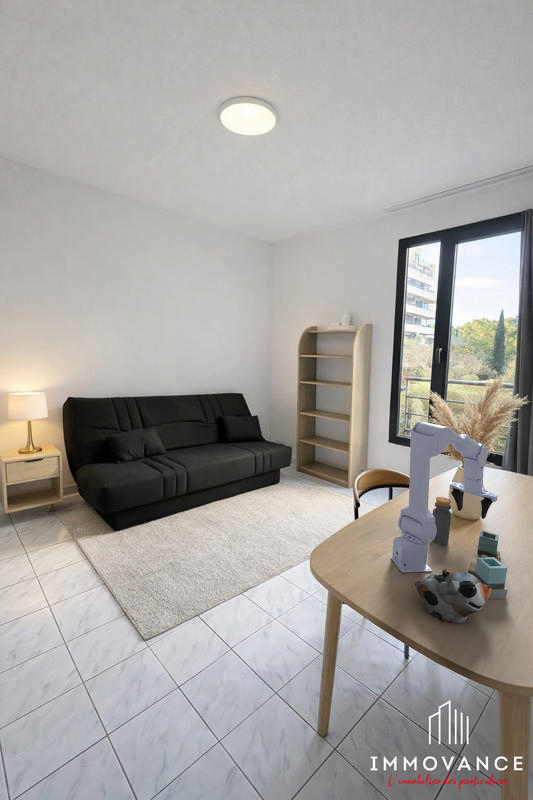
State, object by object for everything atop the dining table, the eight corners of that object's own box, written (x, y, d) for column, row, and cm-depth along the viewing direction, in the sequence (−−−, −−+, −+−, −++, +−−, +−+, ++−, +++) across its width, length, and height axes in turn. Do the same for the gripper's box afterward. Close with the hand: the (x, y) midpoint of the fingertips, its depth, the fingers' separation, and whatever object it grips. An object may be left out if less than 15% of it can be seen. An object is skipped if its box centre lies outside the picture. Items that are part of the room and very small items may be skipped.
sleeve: (487, 589, 98) (489, 568, 97) (474, 577, 103) (477, 557, 102) (504, 588, 98) (507, 567, 97) (491, 576, 103) (493, 557, 102)
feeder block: (485, 598, 98) (486, 590, 97) (470, 584, 103) (471, 576, 103) (506, 598, 98) (507, 589, 98) (490, 583, 104) (491, 575, 104)
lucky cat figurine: (448, 587, 102) (481, 556, 96) (474, 632, 92) (512, 601, 85) (405, 579, 97) (437, 547, 91) (427, 627, 87) (465, 593, 81)
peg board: (495, 583, 104) (498, 559, 103) (467, 574, 108) (470, 550, 107) (499, 556, 119) (502, 534, 118) (475, 548, 123) (478, 528, 122)
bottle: (429, 541, 126) (433, 500, 124) (430, 534, 132) (434, 494, 129) (447, 546, 124) (452, 504, 122) (448, 538, 129) (453, 498, 127)
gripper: (502, 479, 120) (499, 516, 122) (456, 467, 131) (455, 502, 134) (493, 486, 115) (491, 525, 118) (447, 473, 126) (446, 509, 129)
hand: (471, 513), depth 126 cm, fingers open, 7 cm apart
